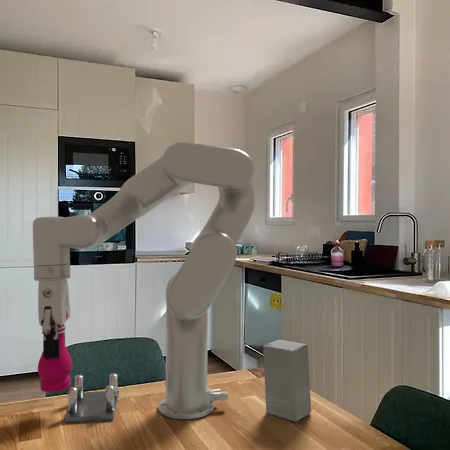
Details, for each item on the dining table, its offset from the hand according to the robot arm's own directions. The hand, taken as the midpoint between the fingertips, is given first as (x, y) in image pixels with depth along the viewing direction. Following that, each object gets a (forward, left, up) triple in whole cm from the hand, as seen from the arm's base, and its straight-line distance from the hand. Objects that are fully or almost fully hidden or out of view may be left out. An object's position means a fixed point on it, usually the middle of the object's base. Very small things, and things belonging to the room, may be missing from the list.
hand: (54, 353), depth 100 cm
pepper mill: (0, 0, -8) cm, 8 cm away
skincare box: (-51, +7, -14) cm, 53 cm away
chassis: (-8, -2, -14) cm, 16 cm away
